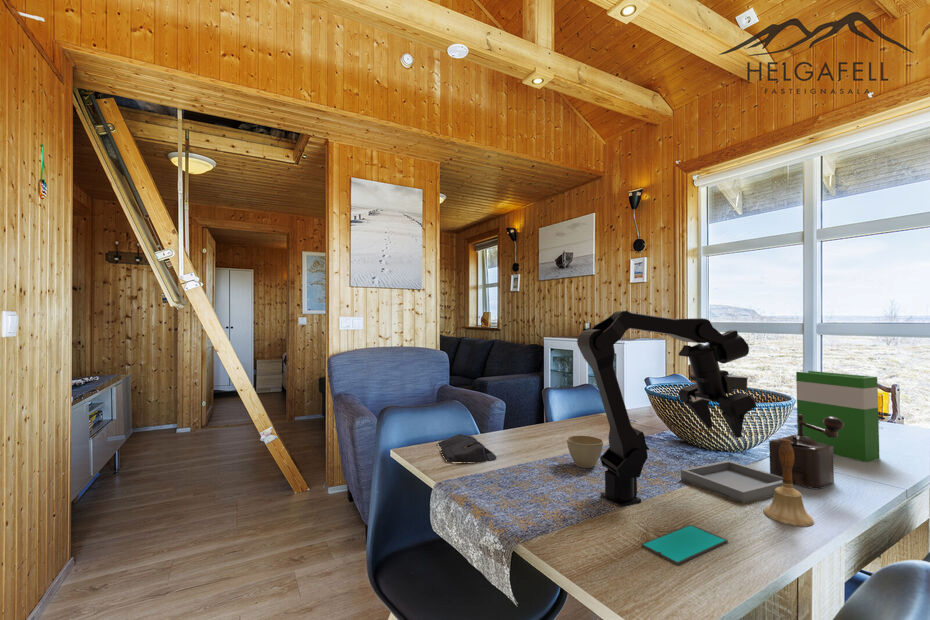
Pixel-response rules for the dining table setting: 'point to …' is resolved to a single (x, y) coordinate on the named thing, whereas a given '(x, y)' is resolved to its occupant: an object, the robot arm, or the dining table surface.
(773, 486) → the tray
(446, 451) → the dark slate chunk
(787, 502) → the hand bell
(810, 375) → the hardback book
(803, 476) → the manual coffee grinder
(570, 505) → the dining table surface
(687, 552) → the smartphone
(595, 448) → the flower pot
